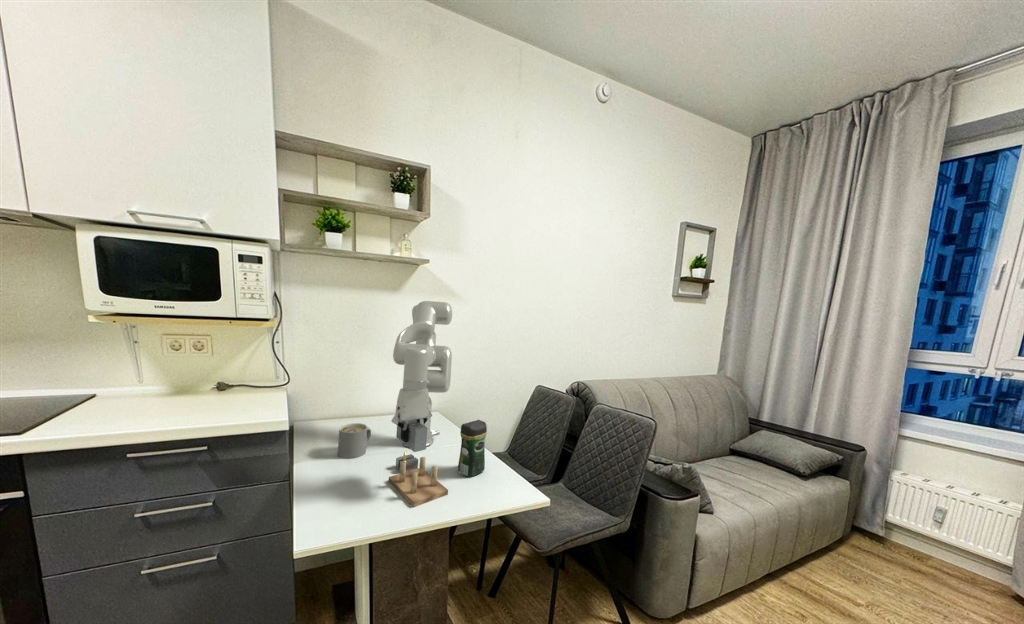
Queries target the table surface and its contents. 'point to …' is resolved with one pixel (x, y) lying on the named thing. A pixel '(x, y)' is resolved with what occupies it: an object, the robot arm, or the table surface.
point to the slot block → (407, 462)
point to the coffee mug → (353, 440)
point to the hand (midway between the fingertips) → (411, 438)
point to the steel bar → (414, 435)
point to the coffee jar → (472, 448)
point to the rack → (418, 484)
